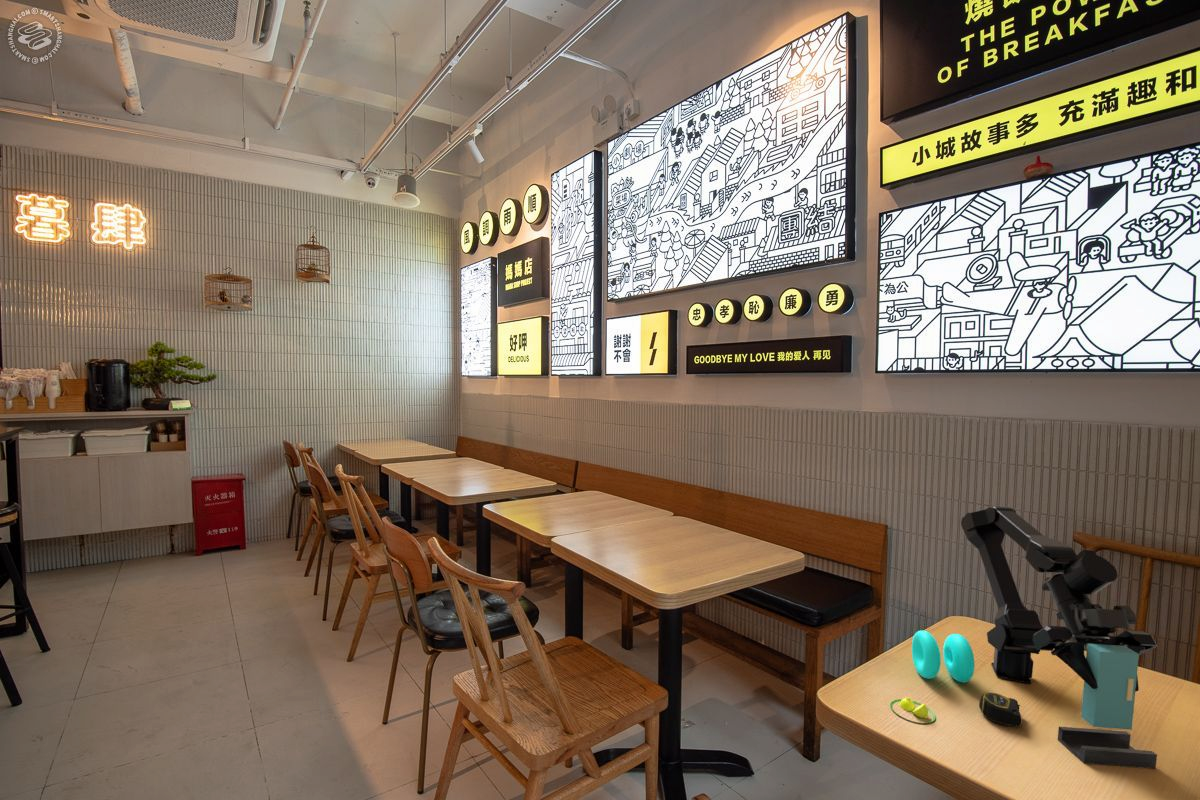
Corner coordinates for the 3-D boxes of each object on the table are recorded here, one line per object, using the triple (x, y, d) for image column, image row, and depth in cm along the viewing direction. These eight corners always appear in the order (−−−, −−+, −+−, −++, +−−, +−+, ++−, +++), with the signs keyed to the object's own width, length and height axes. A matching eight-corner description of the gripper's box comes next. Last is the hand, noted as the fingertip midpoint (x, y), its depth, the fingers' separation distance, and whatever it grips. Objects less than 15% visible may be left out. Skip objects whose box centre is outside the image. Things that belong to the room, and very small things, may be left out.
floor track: (1057, 739, 109) (1058, 726, 109) (1124, 744, 108) (1126, 731, 108) (1083, 763, 103) (1085, 749, 102) (1155, 768, 102) (1157, 754, 102)
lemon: (940, 714, 116) (941, 701, 116) (927, 731, 111) (928, 717, 111) (898, 697, 122) (899, 684, 122) (884, 712, 117) (885, 699, 116)
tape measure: (1021, 734, 111) (1022, 715, 110) (978, 720, 114) (979, 702, 114) (1018, 716, 116) (1020, 698, 116) (978, 704, 120) (979, 687, 120)
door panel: (1080, 716, 107) (1087, 643, 106) (1118, 719, 107) (1124, 645, 106) (1094, 727, 104) (1101, 652, 103) (1132, 730, 103) (1140, 654, 103)
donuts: (975, 692, 124) (978, 647, 124) (925, 686, 126) (928, 642, 125) (954, 668, 134) (957, 626, 134) (908, 663, 136) (911, 622, 135)
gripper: (1047, 584, 108) (1088, 672, 98) (1153, 590, 107) (1205, 680, 97) (1017, 607, 117) (1051, 691, 106) (1114, 613, 116) (1159, 698, 105)
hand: (1115, 689), depth 104 cm, fingers closed on door panel, 6 cm apart
